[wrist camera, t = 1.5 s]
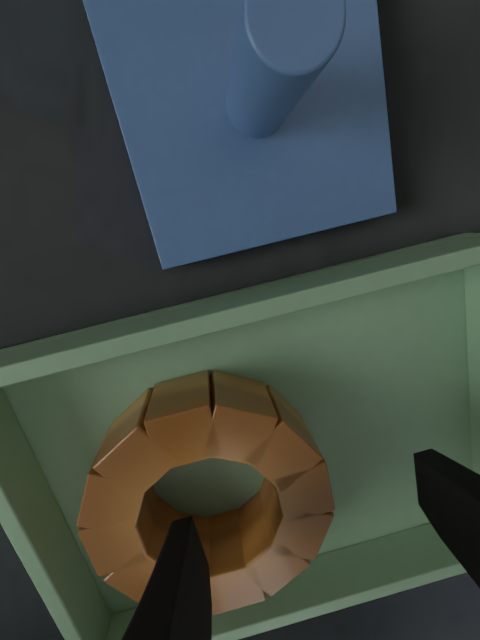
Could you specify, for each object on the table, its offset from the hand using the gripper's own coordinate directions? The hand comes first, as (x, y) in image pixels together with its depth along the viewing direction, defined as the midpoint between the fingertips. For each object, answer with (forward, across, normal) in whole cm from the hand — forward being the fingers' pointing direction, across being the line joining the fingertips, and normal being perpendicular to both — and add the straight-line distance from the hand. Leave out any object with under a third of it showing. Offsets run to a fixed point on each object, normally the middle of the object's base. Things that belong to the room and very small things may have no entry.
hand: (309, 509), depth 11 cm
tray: (+4, +1, 0) cm, 4 cm away
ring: (+3, +3, 0) cm, 4 cm away
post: (+4, -1, -12) cm, 13 cm away
